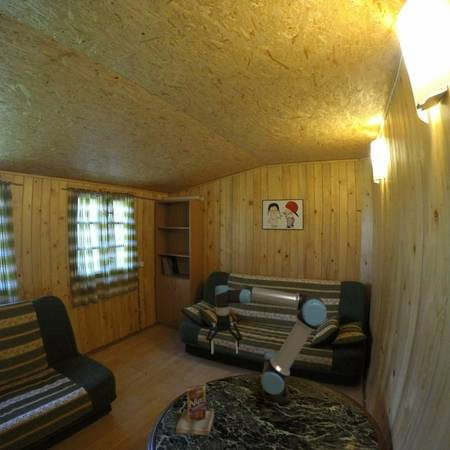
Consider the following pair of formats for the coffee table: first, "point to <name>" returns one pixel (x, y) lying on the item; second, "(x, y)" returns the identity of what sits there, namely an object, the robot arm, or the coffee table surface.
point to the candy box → (196, 403)
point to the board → (195, 424)
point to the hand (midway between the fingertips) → (224, 352)
